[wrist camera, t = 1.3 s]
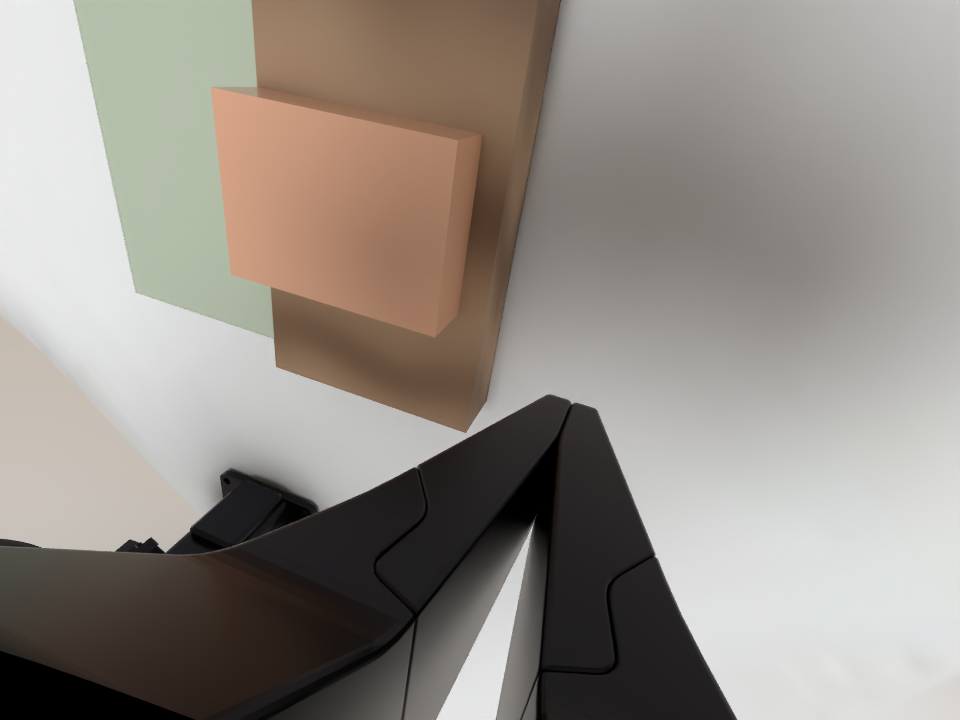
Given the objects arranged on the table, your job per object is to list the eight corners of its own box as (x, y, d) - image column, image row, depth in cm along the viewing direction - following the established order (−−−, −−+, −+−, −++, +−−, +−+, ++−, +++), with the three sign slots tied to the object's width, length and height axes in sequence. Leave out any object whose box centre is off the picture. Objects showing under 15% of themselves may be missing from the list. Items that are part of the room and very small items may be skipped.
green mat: (303, 340, 25) (295, 345, 24) (145, 288, 27) (135, 292, 27) (288, -89, 17) (276, -94, 16) (64, -116, 19) (47, -121, 18)
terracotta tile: (458, 314, 18) (435, 337, 17) (268, 258, 20) (230, 274, 19) (483, 133, 15) (457, 140, 14) (257, 87, 17) (210, 87, 15)
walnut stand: (486, 401, 23) (465, 432, 21) (310, 343, 25) (275, 366, 23) (571, -56, 15) (551, -79, 13) (299, -88, 17) (243, -112, 15)
